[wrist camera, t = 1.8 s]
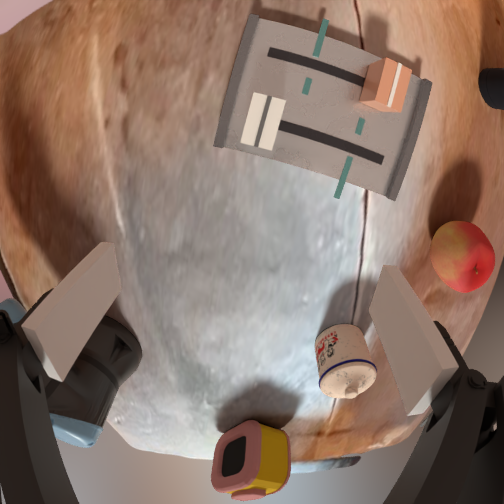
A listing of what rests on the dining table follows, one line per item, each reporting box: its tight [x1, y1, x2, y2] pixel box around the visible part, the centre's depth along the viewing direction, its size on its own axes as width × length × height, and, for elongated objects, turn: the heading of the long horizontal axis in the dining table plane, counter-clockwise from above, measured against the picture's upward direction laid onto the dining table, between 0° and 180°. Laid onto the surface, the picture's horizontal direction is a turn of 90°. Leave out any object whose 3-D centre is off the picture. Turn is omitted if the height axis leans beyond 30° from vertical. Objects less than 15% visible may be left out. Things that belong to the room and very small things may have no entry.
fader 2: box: [359, 57, 412, 113], centre depth 23 cm, size 3×5×5 cm, turn 166°
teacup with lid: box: [315, 324, 377, 399], centre depth 41 cm, size 12×9×12 cm
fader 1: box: [240, 92, 286, 151], centre depth 26 cm, size 3×5×5 cm, turn 165°
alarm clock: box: [211, 420, 291, 501], centre depth 53 cm, size 18×11×19 cm, turn 144°
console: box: [213, 14, 432, 201], centre depth 28 cm, size 22×20×3 cm
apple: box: [430, 221, 495, 293], centre depth 32 cm, size 10×10×10 cm
